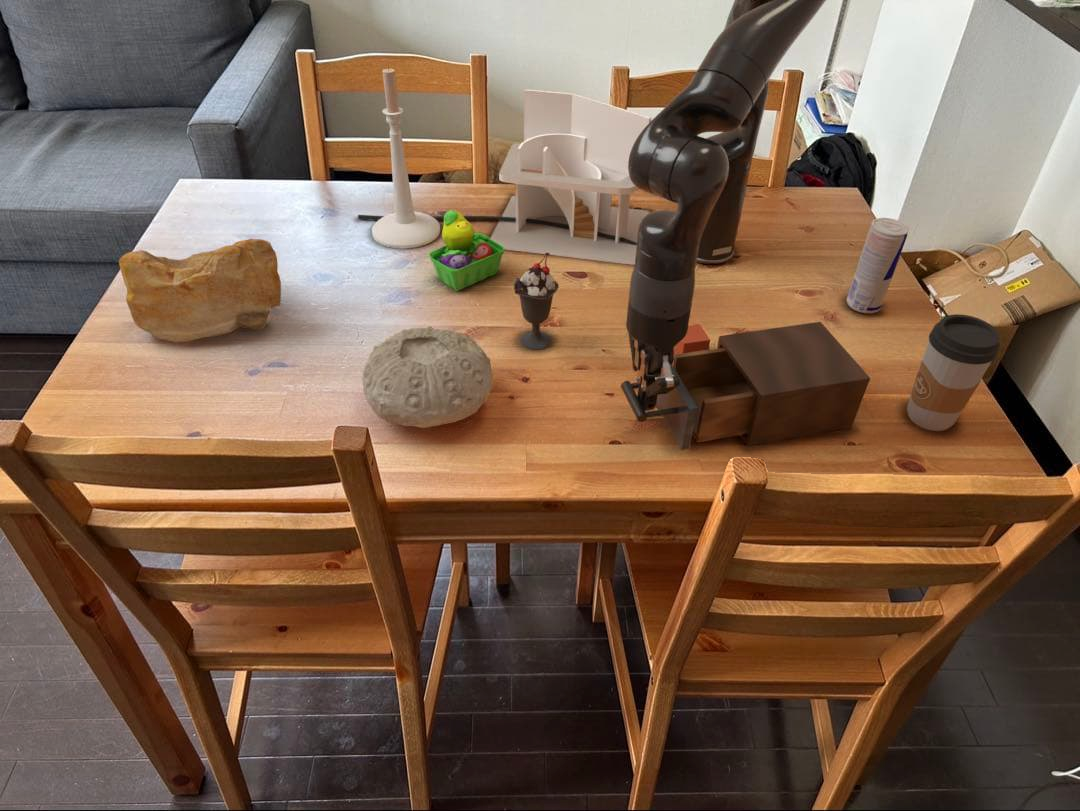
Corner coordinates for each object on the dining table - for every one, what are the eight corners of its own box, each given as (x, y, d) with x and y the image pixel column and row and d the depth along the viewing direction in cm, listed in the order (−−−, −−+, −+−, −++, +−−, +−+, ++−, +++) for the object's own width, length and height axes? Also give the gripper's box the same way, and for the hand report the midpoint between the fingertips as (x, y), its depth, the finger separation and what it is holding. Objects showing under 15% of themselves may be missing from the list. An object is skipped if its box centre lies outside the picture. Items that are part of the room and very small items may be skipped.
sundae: (562, 332, 125) (565, 249, 115) (548, 357, 120) (551, 272, 110) (523, 324, 126) (523, 241, 116) (508, 348, 121) (507, 263, 112)
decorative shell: (449, 349, 121) (444, 294, 114) (519, 410, 111) (518, 354, 104) (344, 395, 112) (333, 339, 106) (410, 466, 102) (402, 408, 95)
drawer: (640, 457, 103) (646, 415, 98) (612, 399, 111) (616, 358, 106) (781, 433, 106) (793, 392, 101) (743, 379, 115) (753, 338, 110)
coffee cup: (888, 399, 114) (923, 313, 104) (943, 396, 114) (983, 310, 104) (913, 438, 107) (953, 351, 97) (972, 435, 108) (1017, 348, 98)
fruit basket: (455, 297, 132) (451, 237, 124) (424, 276, 137) (419, 217, 129) (507, 274, 137) (506, 215, 130) (476, 254, 142) (474, 196, 135)
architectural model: (485, 247, 144) (481, 121, 129) (512, 195, 160) (511, 78, 145) (637, 265, 140) (651, 137, 125) (649, 210, 156) (663, 91, 140)
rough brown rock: (308, 291, 134) (289, 207, 125) (288, 342, 121) (266, 253, 112) (170, 297, 133) (142, 214, 124) (135, 350, 120) (100, 261, 111)
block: (680, 365, 119) (684, 343, 116) (670, 349, 122) (673, 327, 119) (706, 362, 119) (710, 339, 117) (695, 345, 123) (699, 323, 120)
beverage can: (882, 317, 129) (912, 236, 119) (847, 313, 130) (873, 231, 120) (878, 298, 133) (906, 218, 123) (844, 294, 134) (869, 214, 124)
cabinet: (747, 447, 106) (761, 395, 100) (708, 386, 115) (719, 335, 109) (851, 429, 109) (870, 378, 102) (805, 371, 118) (820, 321, 112)
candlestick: (404, 209, 155) (387, 49, 135) (454, 228, 150) (443, 65, 130) (357, 234, 147) (331, 69, 127) (408, 255, 142) (389, 86, 122)
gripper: (613, 273, 98) (604, 380, 109) (649, 333, 88) (635, 444, 100) (670, 266, 99) (655, 372, 111) (711, 325, 90) (690, 435, 101)
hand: (645, 406), depth 105 cm, fingers closed
